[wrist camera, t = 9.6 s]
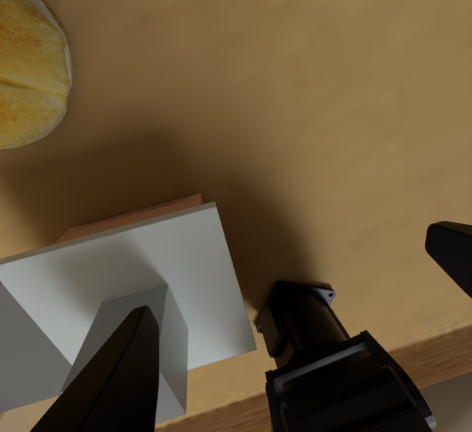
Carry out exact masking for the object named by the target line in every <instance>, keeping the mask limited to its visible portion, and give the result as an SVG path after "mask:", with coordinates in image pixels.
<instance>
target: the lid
mask: <svg viewBox="0 0 472 432" xmlns="http://www.w3.org/2000/svg"><path fill="white" fill-rule="evenodd" d="M0 282H1V283H2V284H3V285H4V286H5V287H6V289H7V290H8V291H9V292H10V293H11V295H12V296H13V297H14V298H15V299H16V300H17V302H18V303H19V304H20V305H21V306H22V307H23V309H24V310H25V311H26V312H27V313H28V314H29V316H30V317H31V318H32V319H33V320H34V321H35V323H36V324H37V325H38V326H39V327H40V328H41V330H42V331H43V332H44V333H45V334H46V335H47V337H48V338H49V339H50V340H51V341H52V342H53V344H54V345H55V346H56V347H57V348H58V349H59V351H60V352H61V353H62V354H63V355H64V357H65V358H66V359H67V360H68V361H69V362H70V364H71V365H72V368H71V370H70V372H69V374H68V376H67V378H66V381H65V383H64V385H63V387H62V389H61V391H60V393H61V394H62V393H63V391H64V390H65V389H66V388H67V387H68V386H69V384H70V383H71V382H72V381H73V380H74V378H75V377H76V376H77V375H78V374H79V372H80V371H81V370H82V369H83V368H84V366H85V365H86V364H87V363H88V362H89V361H90V359H91V358H92V357H93V356H94V355H95V353H96V352H97V351H98V350H99V349H100V347H101V346H102V345H103V344H104V343H105V342H106V340H107V339H108V338H109V337H110V336H111V334H112V333H113V332H114V331H115V330H116V328H117V327H118V326H119V325H120V324H121V322H122V321H123V320H124V319H125V318H126V317H127V315H128V314H129V313H130V312H131V311H132V310H133V309H134V308H136V307H140V306H143V305H148V306H149V307H150V309H151V311H152V312H153V314H154V316H155V318H156V320H157V322H158V324H159V330H160V353H159V392H158V401H157V411H156V420H155V423H159V422H162V421H165V420H169V419H172V418H175V417H179V416H182V415H185V414H186V399H187V370H189V369H193V368H196V367H200V366H203V365H206V364H210V363H213V362H217V361H220V360H223V359H227V358H230V357H233V356H237V355H240V354H244V353H247V352H250V351H254V350H257V347H256V343H255V339H254V336H253V332H252V329H251V325H250V322H249V318H248V315H247V311H246V308H245V304H244V301H243V297H242V294H241V291H240V287H239V284H238V280H237V277H236V273H235V270H234V266H233V263H232V259H231V256H230V252H229V249H228V245H227V242H226V238H225V235H224V231H223V228H222V224H221V221H220V218H219V214H218V211H217V207H216V204H215V201H214V202H210V203H206V204H203V205H199V206H195V207H192V208H188V209H184V210H180V211H177V212H173V213H169V214H166V215H162V216H158V217H154V218H151V219H147V220H143V221H140V222H136V223H132V224H128V225H125V226H121V227H117V228H114V229H110V230H106V231H102V232H99V233H95V234H91V235H88V236H84V237H80V238H76V239H73V240H69V241H65V242H62V243H58V244H54V245H50V246H47V247H43V248H39V249H36V250H32V251H28V252H24V253H21V254H17V255H13V256H10V257H6V258H2V259H0Z"/></svg>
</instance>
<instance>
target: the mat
mask: <svg viewBox="0 0 472 432" xmlns="http://www.w3.org/2000/svg"><path fill="white" fill-rule="evenodd" d="M71 368H72V365H71V364H70V362H69V361H68V360H67V359H66V358H65V357H64V355H63V354H62V353H61V352H60V351H59V349H58V348H57V347H56V346H55V345H54V344H53V342H52V341H51V340H50V339H49V338H48V337H47V335H46V334H45V333H44V332H43V331H42V330H41V328H40V327H39V326H38V325H37V324H36V323H35V321H34V320H33V319H32V318H31V317H30V316H29V314H28V313H27V312H26V311H25V310H24V309H23V307H22V306H21V305H20V304H19V303H18V302H17V300H16V299H15V298H14V297H13V296H12V295H11V293H10V292H9V291H8V290H7V289H6V287H5V286H4V285H3V284H2V283H1V282H0V413H1V412H4V411H7V410H11V409H14V408H17V407H21V406H24V405H28V404H31V403H35V402H38V401H41V400H45V399H48V398H51V397H55V396H59V395H61V393H60V391H61V389H62V387H63V385H64V383H65V381H66V378H67V376H68V374H69V372H70V370H71Z"/></svg>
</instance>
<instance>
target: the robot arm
mask: <svg viewBox="0 0 472 432" xmlns="http://www.w3.org/2000/svg"><path fill="white" fill-rule="evenodd" d="M425 249H426V251H427V253H428V254H429V255H430V256H431V257H432V258H433V259H434V260H435V261H436V263H437V264H438V265H439V266H440V267H441V268H442V269H443V270H444V271H445V272H446V273H447V274H448V275H449V276H450V277H451V278H452V279H453V280H454V281H455V282H456V283H457V285H458V286H459V287H460V288H461V289H462V290H463V291H464V292H465V293H466V294H468V295H469V296H470V297H471V298H472V225H467V224H461V223H454V222H448V221H440V222H437V223H433V224H431V225H429V227H428V229H427V235H426V242H425ZM279 286H281V287H279ZM334 297H335V292H334V290H333V289H331V288H325V287H319V286H313V285H306V284H300V283H293V282H287V281H278V282H276V283H275V285H274V288H273V290H272V292H271V294H270V297H269V299H268V300H267V301H266V303H265V305H264V308H263V310H262V312H261V314H260V317H259V321H258V324H257V326H256V329H257V332H258V333H263V337H264V340H265V344H266V347H267V351H268V354H269V356H270V357H271V358H274V359H275V362H276V366H277V369H275V370H273V371H272V370H269V371H267V372H265V374H266V380H267V383H266V387H265V389H266V393H267V397H268V402H269V408H270V414H271V432H433V431H432V430H433V429H435V428H436V422H435V419H434V417H433V414H432V412H431V410H430V408H429V407H428V405H427V403H426V401H425V400H424V398H423V396H422V395H421V394H420V392H419V390H418V389H417V387H416V386H415V384H414V383H413V381H412V380H411V379H410V378H409V376H408V375H407V374H406V372H405V371H404V370H403V369H402V368H401V367H400V366H399V365H398V364H397V362H396V361H395V360H394V359H393V358H392V357H391V356H390V355H389V354H388V353H387V352H386V351H385V350H384V349H383V347H382V346H381V345H380V344H379V343H378V342H377V341H376V340H375V339H374V338H373V337H372V336H371V335H370V334H369V332H368V331H367V330H365V331H363V332H360V334H359V335H356V336H354V337H352V338H350V336H349V335H348V333H347V332H346V330H345V329H344V327H343V326H342V324H341V323H340V321H339V320H338V318H337V316H336V315H335V313H334V312H333V310H332V309H331V307H330V306H329V305H330V304H331V302H332V300H333V298H334ZM159 353H160V330H159V324H158V322H157V320H156V318H155V316H154V314H153V312H152V311H151V309H150V307H149V306H148V305H143V306H140V307H136V308H134V309H133V310H132V311H131V312H130V313H129V314H128V315H127V317H126V318H125V319H124V320H123V321H122V322H121V324H120V325H119V326H118V327H117V328H116V330H115V331H114V332H113V333H112V334H111V336H110V337H109V338H108V339H107V340H106V342H105V343H104V344H103V345H102V346H101V347H100V349H99V350H98V351H97V352H96V353H95V355H94V356H93V357H92V358H91V359H90V361H89V362H88V363H87V364H86V365H85V366H84V368H83V369H82V370H81V371H80V372H79V374H78V375H77V376H76V377H75V378H74V380H73V381H72V382H71V383H70V384H69V386H68V387H67V388H66V389H65V390H64V391H63V393H62V394H61V395H60V396H59V397H58V399H57V400H56V401H55V402H54V404H53V405H52V406H51V407H50V408H49V409H48V411H47V412H46V413H45V414H44V415H43V417H42V418H41V419H40V420H39V421H38V422H37V424H36V425H35V426H34V427H33V428H32V430H31V431H30V432H154V429H155V420H156V411H157V401H158V392H159Z"/></svg>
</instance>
